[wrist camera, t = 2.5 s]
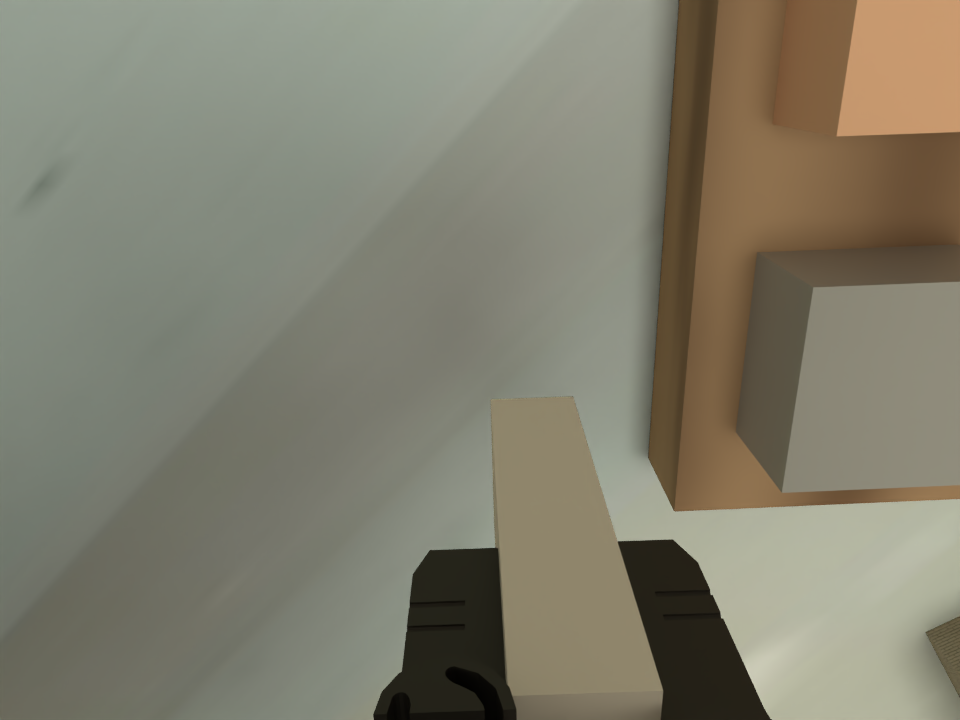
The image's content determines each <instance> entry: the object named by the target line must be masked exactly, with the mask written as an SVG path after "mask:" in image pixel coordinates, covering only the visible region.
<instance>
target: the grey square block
mask: <svg viewBox="0 0 960 720" xmlns="http://www.w3.org/2000/svg"><path fill="white" fill-rule="evenodd" d="M736 433H737V434H738V436H739V437H740V438H741V440H742V441H743V442H744V444H745V445H746V446H747V448H748V449H749V450H750V452H751V453H752V454H753V456H754V457H755V458H756V459H757V461H758V462H759V463H760V465H761V466H762V467H763V469H764V470H765V471H766V473H767V474H768V475H769V477H770V478H771V479H772V481H773V482H774V483H775V485H776V486H777V487H778V489H779V490H780V491H781V492H782V493H791V492H814V491H837V490H860V489H883V488H905V487H928V486H951V485H960V245H932V246H906V247H880V248H854V249H829V250H803V251H777V252H757V257H756V266H755V274H754V283H753V291H752V299H751V308H750V316H749V324H748V333H747V341H746V349H745V358H744V366H743V374H742V383H741V391H740V400H739V408H738V416H737V425H736Z"/></svg>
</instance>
